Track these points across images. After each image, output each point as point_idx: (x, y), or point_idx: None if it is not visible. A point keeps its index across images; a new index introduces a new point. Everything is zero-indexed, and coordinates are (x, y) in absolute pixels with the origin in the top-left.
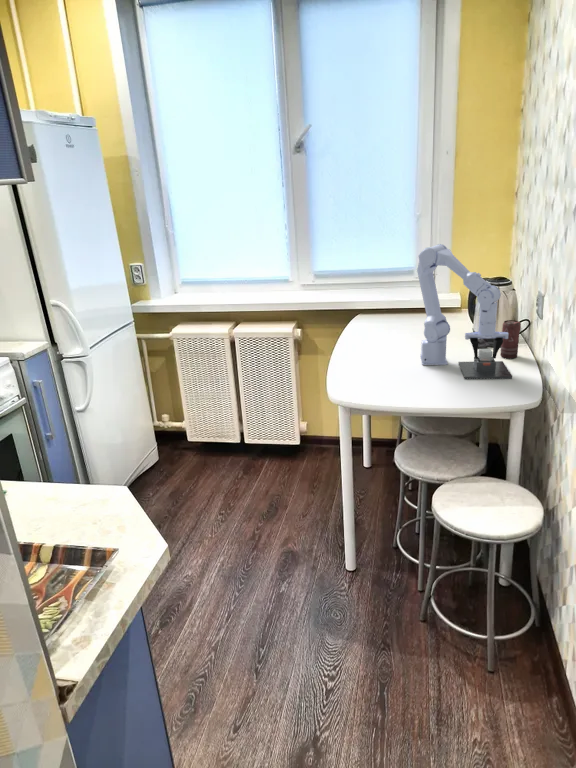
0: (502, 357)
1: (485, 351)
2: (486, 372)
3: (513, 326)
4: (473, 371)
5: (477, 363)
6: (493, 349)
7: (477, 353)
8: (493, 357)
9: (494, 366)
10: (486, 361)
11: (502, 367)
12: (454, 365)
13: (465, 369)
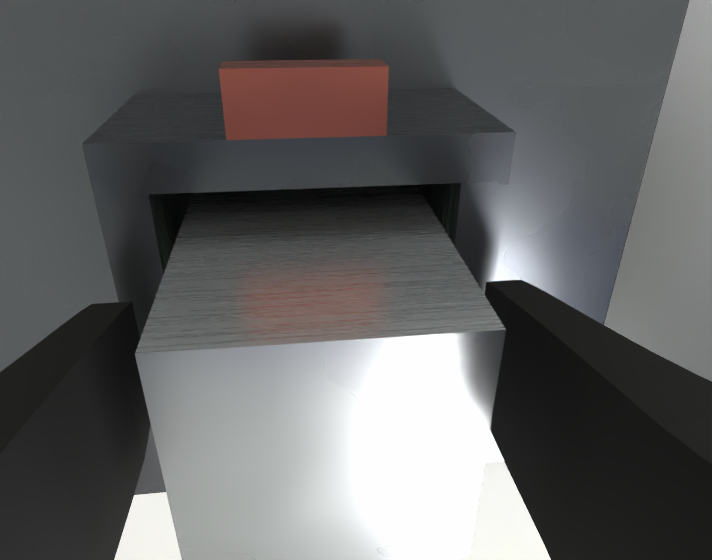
0: None
1: (345, 397)
2: (292, 56)
3: None
4: (496, 109)
5: (499, 125)
6: (102, 549)
7: (556, 331)
8: (131, 329)
9: (133, 116)
10: (296, 217)
11: (20, 294)
12: None
13: (584, 200)
